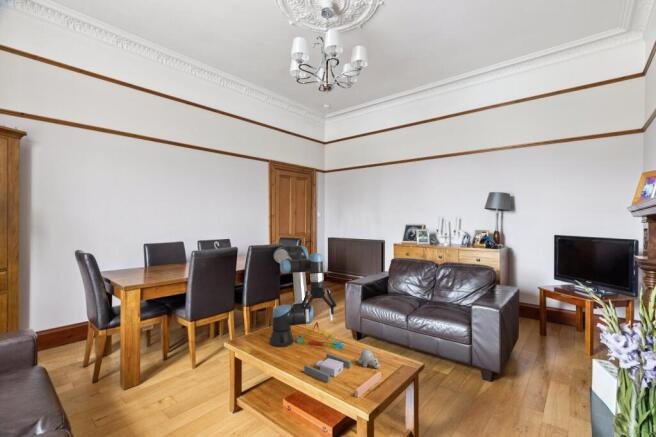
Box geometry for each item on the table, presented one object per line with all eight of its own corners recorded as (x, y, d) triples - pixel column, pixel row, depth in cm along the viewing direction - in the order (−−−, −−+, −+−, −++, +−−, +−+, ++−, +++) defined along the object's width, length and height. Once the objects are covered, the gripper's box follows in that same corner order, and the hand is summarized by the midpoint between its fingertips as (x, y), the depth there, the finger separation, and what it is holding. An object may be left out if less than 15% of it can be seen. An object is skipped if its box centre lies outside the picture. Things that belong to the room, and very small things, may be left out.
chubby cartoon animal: (373, 376, 164) (379, 363, 162) (355, 362, 170) (360, 349, 168) (379, 370, 170) (384, 358, 168) (361, 357, 176) (366, 344, 174)
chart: (343, 347, 194) (344, 323, 194) (342, 349, 191) (343, 325, 191) (298, 341, 202) (299, 319, 202) (297, 343, 199) (297, 320, 199)
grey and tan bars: (302, 373, 161) (302, 366, 161) (328, 358, 178) (328, 352, 178) (357, 397, 139) (357, 390, 139) (381, 378, 157) (381, 371, 157)
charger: (320, 363, 173) (343, 370, 165) (310, 369, 165) (334, 377, 157) (320, 354, 173) (343, 361, 165) (310, 361, 165) (334, 368, 157)
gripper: (293, 282, 171) (295, 322, 167) (336, 279, 165) (339, 321, 160) (298, 282, 178) (300, 321, 174) (340, 279, 172) (343, 319, 167)
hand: (319, 321), depth 167 cm, fingers open, 13 cm apart
